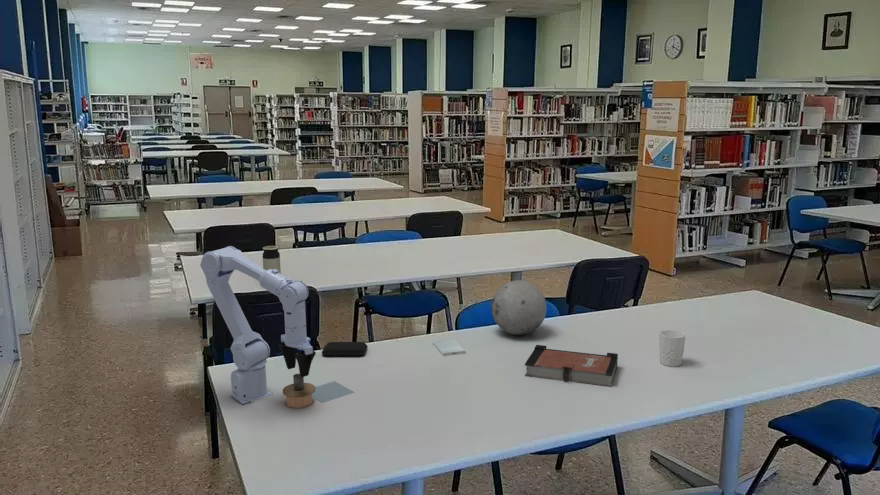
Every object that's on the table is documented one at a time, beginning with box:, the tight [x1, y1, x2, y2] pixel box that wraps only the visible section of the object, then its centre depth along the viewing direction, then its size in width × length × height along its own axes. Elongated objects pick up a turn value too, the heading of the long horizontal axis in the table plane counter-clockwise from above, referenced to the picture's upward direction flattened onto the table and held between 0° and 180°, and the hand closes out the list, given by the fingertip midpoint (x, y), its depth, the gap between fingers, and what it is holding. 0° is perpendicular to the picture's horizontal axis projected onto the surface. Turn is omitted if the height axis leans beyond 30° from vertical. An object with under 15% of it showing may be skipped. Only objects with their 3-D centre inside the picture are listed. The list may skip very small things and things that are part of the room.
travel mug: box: [262, 245, 282, 274], centre depth 323 cm, size 8×8×18 cm
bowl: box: [285, 394, 313, 409], centre depth 190 cm, size 7×7×4 cm
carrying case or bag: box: [321, 341, 368, 358], centre depth 231 cm, size 11×3×15 cm
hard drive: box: [432, 339, 467, 357], centre depth 234 cm, size 2×8×12 cm
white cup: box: [659, 329, 687, 368], centre depth 218 cm, size 8×8×10 cm
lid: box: [282, 373, 316, 397], centre depth 189 cm, size 9×9×5 cm
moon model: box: [491, 279, 547, 336], centre depth 247 cm, size 20×20×20 cm
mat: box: [312, 380, 355, 404], centre depth 198 cm, size 11×11×1 cm
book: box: [524, 344, 619, 388], centre depth 212 cm, size 26×18×5 cm
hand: (297, 372), depth 189 cm, fingers open, 7 cm apart
